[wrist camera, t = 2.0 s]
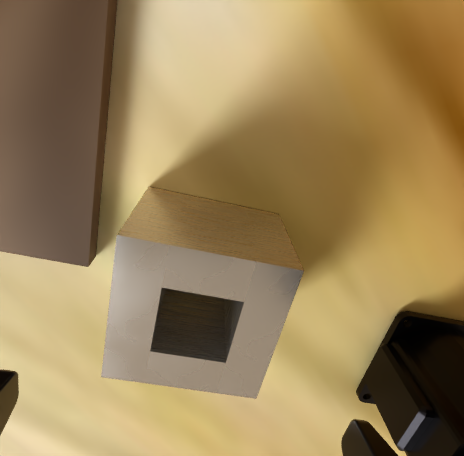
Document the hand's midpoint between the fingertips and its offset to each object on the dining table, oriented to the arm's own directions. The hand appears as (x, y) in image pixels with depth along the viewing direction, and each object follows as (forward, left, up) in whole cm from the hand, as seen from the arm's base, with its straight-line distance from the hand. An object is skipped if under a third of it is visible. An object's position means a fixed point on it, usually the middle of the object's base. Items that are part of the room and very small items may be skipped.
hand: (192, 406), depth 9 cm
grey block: (0, 0, -8) cm, 8 cm away
